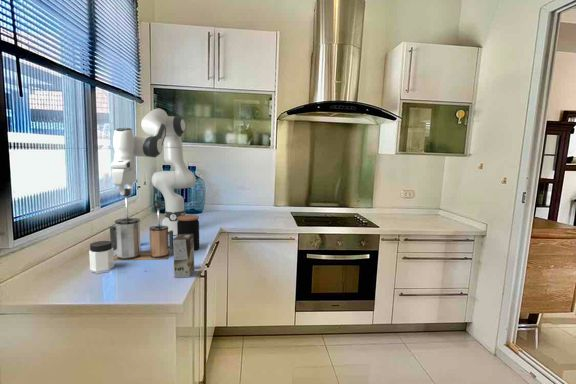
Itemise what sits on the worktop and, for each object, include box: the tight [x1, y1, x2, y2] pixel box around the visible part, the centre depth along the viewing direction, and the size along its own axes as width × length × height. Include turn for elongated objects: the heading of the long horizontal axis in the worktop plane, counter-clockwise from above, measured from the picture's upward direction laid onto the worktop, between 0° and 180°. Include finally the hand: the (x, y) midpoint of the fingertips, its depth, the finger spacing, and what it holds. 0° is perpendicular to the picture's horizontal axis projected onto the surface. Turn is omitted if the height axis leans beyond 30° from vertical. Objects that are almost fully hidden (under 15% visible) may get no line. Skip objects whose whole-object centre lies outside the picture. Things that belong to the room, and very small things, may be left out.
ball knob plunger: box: [154, 201, 163, 228], centre depth 155 cm, size 6×6×17 cm
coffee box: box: [173, 234, 195, 278], centre depth 137 cm, size 9×6×16 cm
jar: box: [88, 240, 115, 275], centre depth 139 cm, size 9×8×12 cm
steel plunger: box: [122, 188, 132, 221], centre depth 153 cm, size 7×7×22 cm
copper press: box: [148, 225, 174, 258], centre depth 157 cm, size 8×10×14 cm
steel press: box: [109, 217, 142, 261], centre depth 154 cm, size 10×12×18 cm
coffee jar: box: [177, 214, 200, 252], centre depth 168 cm, size 11×11×18 cm
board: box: [114, 249, 174, 262], centre depth 157 cm, size 14×26×1 cm, turn 98°
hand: (126, 193), depth 152 cm, fingers open, 8 cm apart
